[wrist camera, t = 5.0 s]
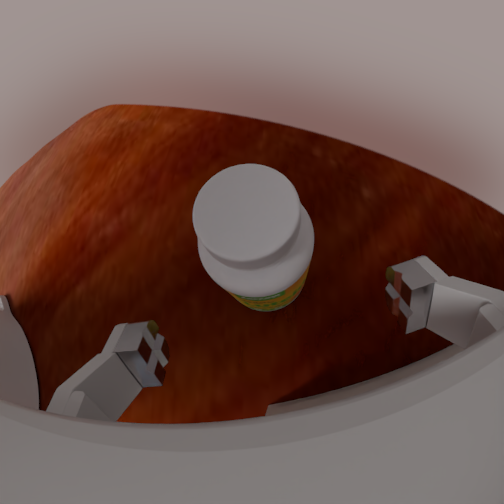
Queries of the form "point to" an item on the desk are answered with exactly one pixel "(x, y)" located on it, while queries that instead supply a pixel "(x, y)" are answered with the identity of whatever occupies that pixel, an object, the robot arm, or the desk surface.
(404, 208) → the desk surface
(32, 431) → the robot arm
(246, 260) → the supplement bottle
